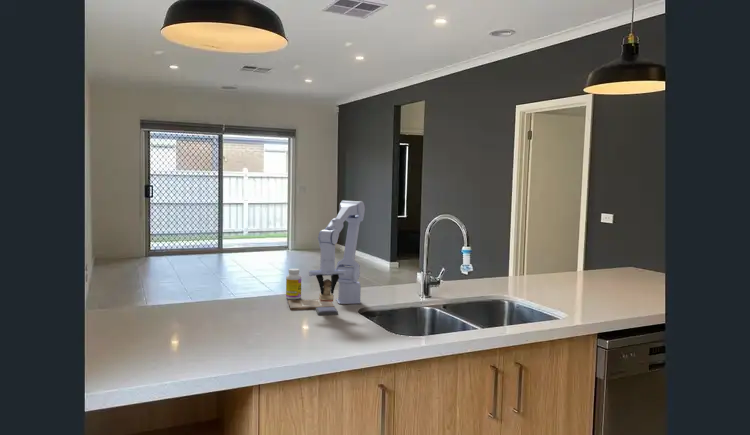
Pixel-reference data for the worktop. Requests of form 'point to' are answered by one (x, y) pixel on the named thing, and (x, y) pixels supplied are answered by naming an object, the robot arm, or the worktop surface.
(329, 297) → the stamp
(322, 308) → the ink pad
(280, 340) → the worktop surface
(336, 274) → the robot arm
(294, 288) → the supplement bottle
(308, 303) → the board
